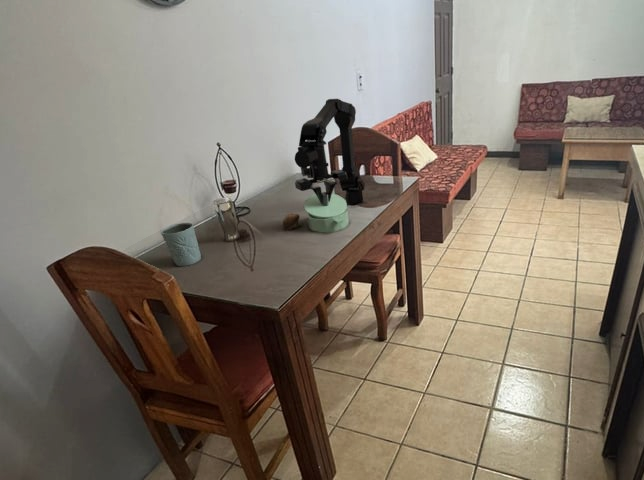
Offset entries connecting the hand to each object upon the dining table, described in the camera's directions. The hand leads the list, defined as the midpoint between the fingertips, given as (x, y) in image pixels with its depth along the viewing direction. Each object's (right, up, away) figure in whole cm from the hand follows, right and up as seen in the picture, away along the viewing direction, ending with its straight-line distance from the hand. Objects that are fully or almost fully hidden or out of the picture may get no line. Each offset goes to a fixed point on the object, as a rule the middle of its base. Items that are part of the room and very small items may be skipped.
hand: (325, 202), depth 158 cm
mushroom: (-13, -9, +5) cm, 17 cm away
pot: (+1, -8, +4) cm, 9 cm away
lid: (0, -1, +1) cm, 1 cm away
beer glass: (-35, -13, +2) cm, 38 cm away
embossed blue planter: (-46, -23, -12) cm, 52 cm away
